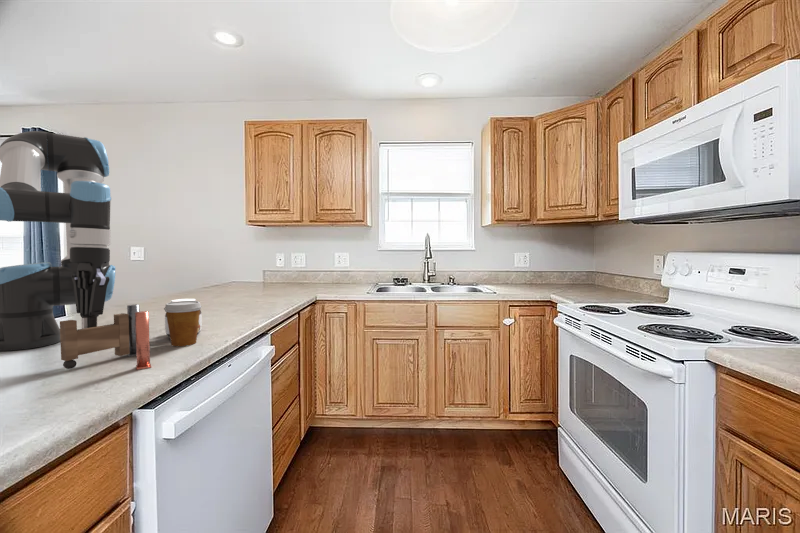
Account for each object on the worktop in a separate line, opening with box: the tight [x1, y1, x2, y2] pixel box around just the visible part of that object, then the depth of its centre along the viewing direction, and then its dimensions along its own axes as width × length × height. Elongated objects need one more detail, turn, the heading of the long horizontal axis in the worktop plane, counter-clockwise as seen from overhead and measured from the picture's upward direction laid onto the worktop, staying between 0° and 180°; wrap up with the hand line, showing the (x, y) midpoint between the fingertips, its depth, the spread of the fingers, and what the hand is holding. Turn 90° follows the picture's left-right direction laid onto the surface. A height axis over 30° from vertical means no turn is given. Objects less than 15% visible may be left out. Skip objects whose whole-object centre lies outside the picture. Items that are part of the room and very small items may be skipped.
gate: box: [59, 312, 130, 370], centre depth 91 cm, size 2×13×11 cm, turn 155°
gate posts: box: [126, 304, 152, 371], centre depth 93 cm, size 17×4×13 cm, turn 38°
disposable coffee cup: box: [163, 300, 202, 347], centre depth 110 cm, size 10×10×12 cm
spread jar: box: [164, 298, 203, 338], centre depth 120 cm, size 12×11×12 cm
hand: (89, 343), depth 92 cm, fingers closed
